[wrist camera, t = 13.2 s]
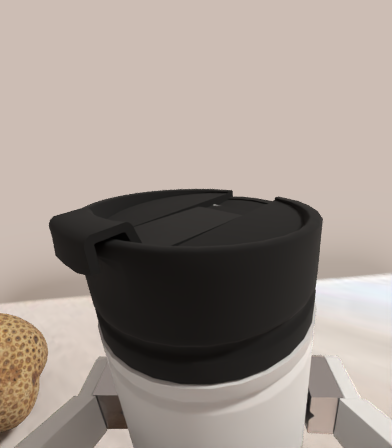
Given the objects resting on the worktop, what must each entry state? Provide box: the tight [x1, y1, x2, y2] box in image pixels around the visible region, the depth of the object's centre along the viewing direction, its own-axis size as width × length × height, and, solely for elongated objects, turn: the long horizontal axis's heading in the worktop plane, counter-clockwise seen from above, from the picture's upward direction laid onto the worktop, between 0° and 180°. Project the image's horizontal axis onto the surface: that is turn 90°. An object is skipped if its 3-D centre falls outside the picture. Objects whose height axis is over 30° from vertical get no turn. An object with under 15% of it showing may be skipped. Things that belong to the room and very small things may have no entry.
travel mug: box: [49, 189, 323, 448], centre depth 10 cm, size 6×7×20 cm
